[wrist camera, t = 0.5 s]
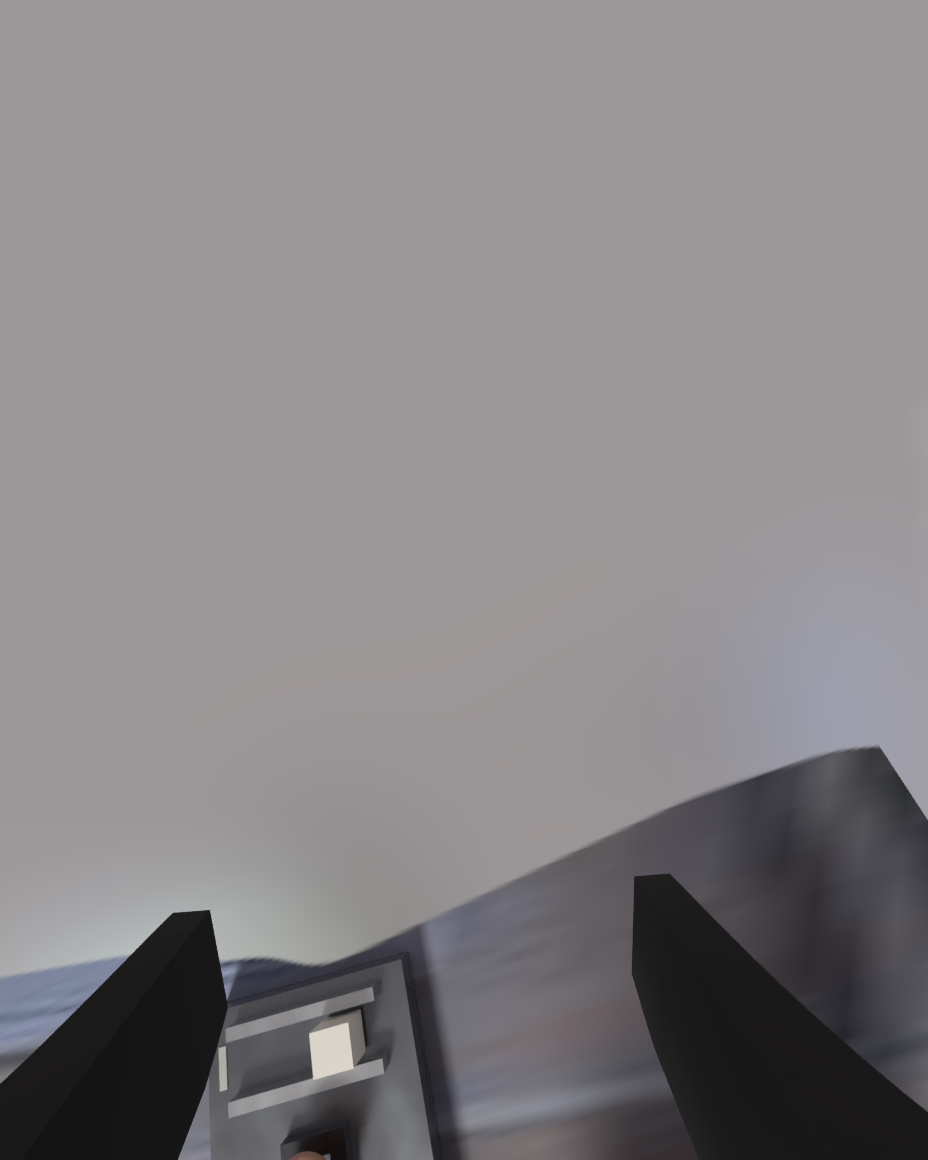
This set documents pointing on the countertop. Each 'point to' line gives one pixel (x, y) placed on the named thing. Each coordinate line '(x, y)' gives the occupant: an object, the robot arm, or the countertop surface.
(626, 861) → the countertop surface
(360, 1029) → the slider knob
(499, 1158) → the countertop surface
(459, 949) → the countertop surface
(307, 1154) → the terracotta button
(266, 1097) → the panel
